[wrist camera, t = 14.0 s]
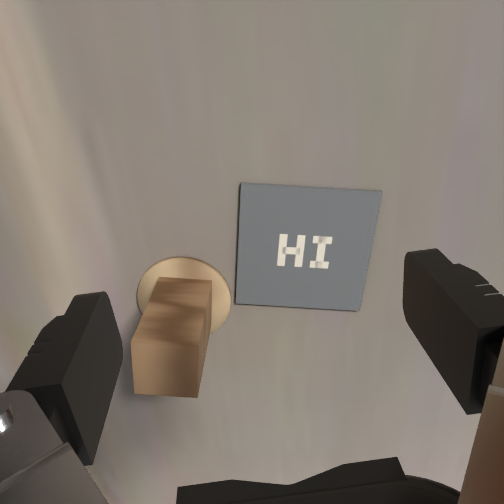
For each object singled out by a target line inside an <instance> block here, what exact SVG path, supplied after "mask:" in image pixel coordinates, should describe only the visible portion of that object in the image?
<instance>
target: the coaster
mask: <svg viewBox="0 0 504 504" xmlns="http://www.w3.org/2000/svg"><path fill="white" fill-rule="evenodd" d="M159 277H170V278H186V279H201V280H212V318H211V329H210V333H212V332H214V331H215V330H217V329H218V328H219V327H220V326H221V325H222V324H223V323H224V321H225V320H226V318H227V316H228V314H229V310H230V304H231V295H230V290H229V287H228V285H227V283H226V281H225V279H224V278H223V276H222V275H221V274H220V273H219V272H218V271H217V270H216V269H215V268H213V267H212V266H210V265H209V264H207V263H205V262H203V261H201V260H198V259H194V258H190V257H172V258H168V259H164V260H162V261H159V262H158V263H156V264H154V265H153V266H152V267H150V268H149V269H148V270H147V271H146V273H145V274H144V276H143V277H142V279H141V281H140V284H139V287H138V292H137V299H138V305H139V308H140V310H141V312H142V314H143V313H144V311H145V308H146V306H147V304H148V301H149V299H150V297H151V294H152V292H153V290H154V288H155V285H156V283H157V281H158V278H159Z"/></svg>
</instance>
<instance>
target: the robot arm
mask: <svg viewBox="0 0 504 504" xmlns="http://www.w3.org/2000/svg"><path fill="white" fill-rule="evenodd" d="M403 310H404V315H405V319H406V321H407V323H408V325H409V327H410V328H411V330H412V331H413V333H414V335H415V336H416V338H417V339H418V341H419V342H420V344H421V345H422V347H423V348H424V350H425V351H426V353H427V354H428V356H429V357H430V359H431V361H432V362H433V364H434V365H435V367H436V368H437V370H438V371H439V373H440V374H441V376H442V377H443V379H444V380H445V382H446V383H447V385H448V387H449V388H450V390H451V391H452V393H453V394H454V396H455V397H456V399H457V400H458V402H459V403H460V405H461V406H462V408H463V410H464V411H465V413H466V414H467V415H470V414H477V413H481V417H480V421H479V425H478V428H477V432H476V436H475V440H474V443H473V447H472V451H471V455H470V459H469V462H468V466H467V470H466V474H465V477H464V481H463V485H462V489H461V492H459V491H457V490H455V489H453V488H451V487H449V486H446V485H444V484H442V483H439V482H436V481H432V480H429V479H426V478H421V477H416V476H411V475H405V474H404V472H403V469H402V467H401V465H400V462H399V460H398V458H397V457H392V458H385V459H377V460H370V461H363V462H356V463H349V464H343V465H340V466H338V467H335V468H333V469H330V470H328V471H325V472H323V473H320V474H317V475H315V476H312V477H310V478H307V479H305V480H302V481H300V482H297V483H294V484H290V485H281V484H271V483H261V482H251V481H241V480H225V481H218V482H211V483H204V484H196V485H189V486H182V487H178V489H177V500H176V504H504V296H503V295H502V294H499V291H497V290H496V289H495V288H494V287H493V286H492V285H489V282H488V281H487V280H486V279H484V278H483V277H482V276H481V275H480V274H479V273H478V272H476V271H474V270H472V269H470V268H468V267H466V266H463V265H461V264H453V263H452V262H451V261H450V260H449V259H447V258H446V257H445V256H444V255H443V254H442V253H441V252H440V251H439V250H438V249H436V248H435V249H427V250H419V251H412V252H407V253H406V255H405V260H404V282H403ZM122 359H123V347H122V341H121V337H120V333H119V330H118V327H117V323H116V320H115V316H114V313H113V310H112V306H111V303H110V299H109V297H108V295H107V293H106V292H104V291H103V292H96V293H88V294H81V295H76V296H74V298H73V300H72V301H71V303H70V305H69V307H68V309H67V311H66V313H65V314H64V315H62V316H57V317H55V318H54V319H53V320H52V321H51V322H50V323H48V324H47V325H46V326H45V327H44V328H43V329H42V330H41V332H40V333H39V335H38V337H37V338H36V340H35V342H34V345H32V347H31V348H30V350H29V352H28V356H26V357H25V359H24V360H23V362H22V364H21V365H20V367H19V369H18V371H17V372H16V374H15V376H14V377H13V379H12V381H11V382H10V384H9V386H8V387H7V389H6V391H5V392H3V393H0V504H109V503H108V502H107V500H106V499H105V497H104V496H103V494H102V493H101V491H100V490H99V488H98V487H97V485H96V484H95V482H94V481H93V479H92V478H91V476H90V474H89V473H88V471H87V470H86V468H85V467H84V466H87V465H93V461H94V458H95V454H96V451H97V447H98V444H99V440H100V437H101V433H102V430H103V426H104V423H105V420H106V416H107V413H108V409H109V406H110V402H111V399H112V395H113V392H114V388H115V385H116V381H117V378H118V374H119V371H120V367H121V364H122Z"/></svg>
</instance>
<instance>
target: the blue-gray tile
mask: <svg viewBox="0 0 504 504" xmlns="http://www.w3.org/2000/svg"><path fill="white" fill-rule="evenodd" d="M381 197H382V191H375V190H358V189H342V188H325V187H309V186H292V185H276V184H259V183H242V182H241V194H240V217H239V240H238V263H237V286H236V303H238V304H254V305H271V306H287V307H303V308H320V309H336V310H352V311H360V308H361V303H362V297H363V292H364V287H365V281H366V276H367V271H368V265H369V260H370V255H371V250H372V244H373V239H374V234H375V228H376V223H377V218H378V213H379V207H380V202H381Z"/></svg>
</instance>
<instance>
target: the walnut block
mask: <svg viewBox="0 0 504 504" xmlns="http://www.w3.org/2000/svg"><path fill="white" fill-rule="evenodd" d="M211 318H212V280H201V279H186V278H170V277H159V278H158V281H157V283H156V285H155V288H154V290H153V292H152V294H151V297H150V299H149V301H148V304H147V306H146V308H145V311H144V313H143V315H142V317H141V320H140V322H139V324H138V327H137V329H136V331H135V334H134V336H133V338H132V341H131V356H132V369H133V382H134V394H145V395H160V396H176V397H192V398H198V392H199V387H200V382H201V376H202V371H203V366H204V360H205V355H206V350H207V345H208V339H209V334H210V329H211Z"/></svg>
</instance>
